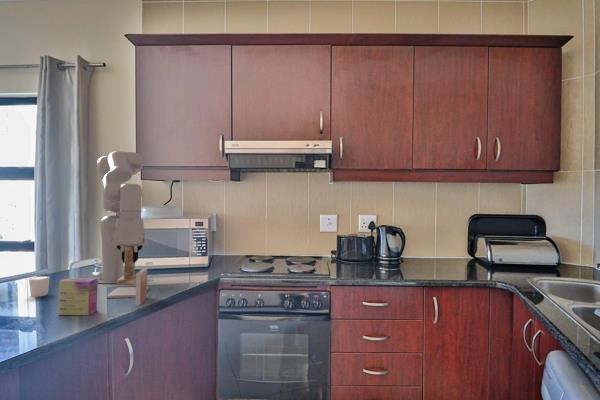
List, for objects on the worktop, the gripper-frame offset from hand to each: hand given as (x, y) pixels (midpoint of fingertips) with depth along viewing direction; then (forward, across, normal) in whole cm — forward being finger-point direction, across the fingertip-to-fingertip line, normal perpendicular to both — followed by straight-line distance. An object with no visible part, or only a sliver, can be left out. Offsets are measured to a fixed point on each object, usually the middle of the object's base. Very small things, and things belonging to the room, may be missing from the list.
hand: (129, 261), depth 138 cm
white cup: (+16, -39, +14) cm, 44 cm away
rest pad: (+16, -4, +12) cm, 20 cm away
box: (+16, -13, -12) cm, 24 cm away
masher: (+8, 0, 0) cm, 8 cm away
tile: (+16, +4, 0) cm, 16 cm away
